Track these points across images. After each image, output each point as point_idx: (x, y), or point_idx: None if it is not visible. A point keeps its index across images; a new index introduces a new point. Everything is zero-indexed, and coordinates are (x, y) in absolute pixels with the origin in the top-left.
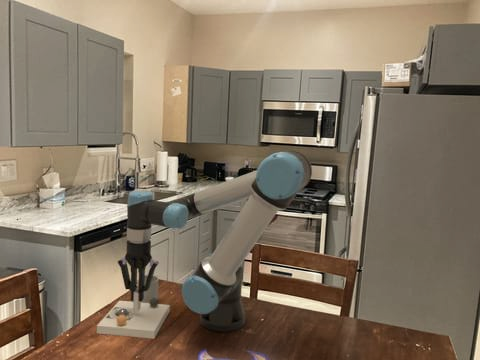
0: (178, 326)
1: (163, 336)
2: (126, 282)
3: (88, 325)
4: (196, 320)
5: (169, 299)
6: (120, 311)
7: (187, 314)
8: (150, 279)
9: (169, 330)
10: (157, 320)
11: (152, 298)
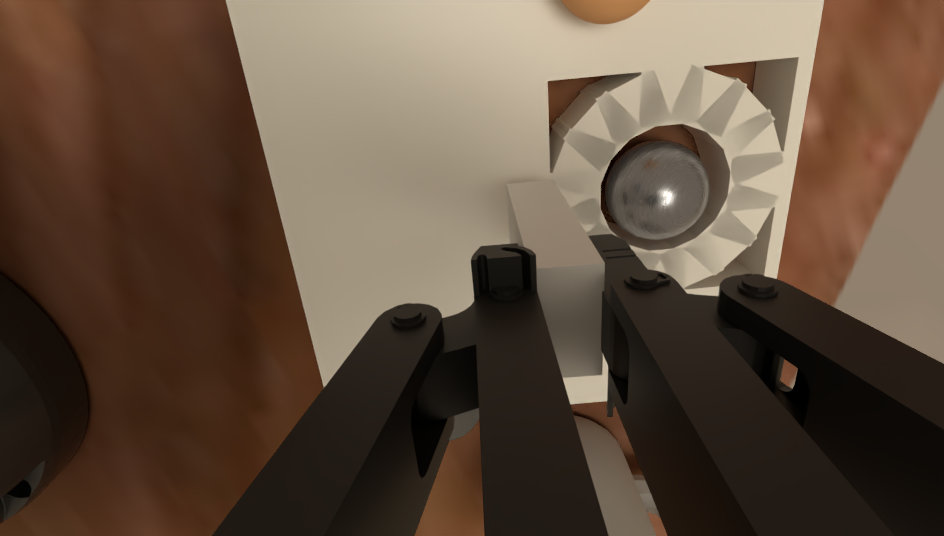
0: (165, 209)
1: (187, 10)
2: (831, 339)
3: (905, 14)
4: (91, 328)
5: (424, 528)
6: (685, 170)
7: (203, 388)
8: (258, 476)
9: (196, 127)
10: (294, 154)
11: (455, 417)
